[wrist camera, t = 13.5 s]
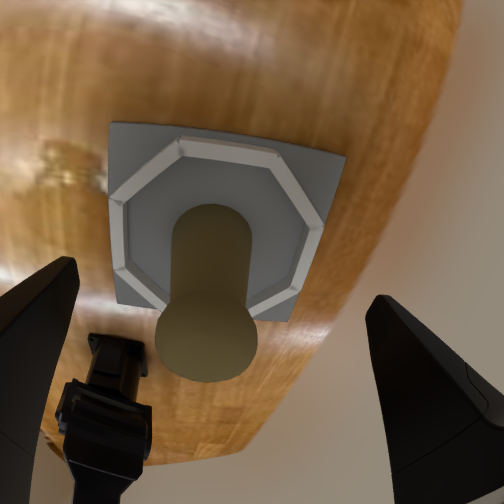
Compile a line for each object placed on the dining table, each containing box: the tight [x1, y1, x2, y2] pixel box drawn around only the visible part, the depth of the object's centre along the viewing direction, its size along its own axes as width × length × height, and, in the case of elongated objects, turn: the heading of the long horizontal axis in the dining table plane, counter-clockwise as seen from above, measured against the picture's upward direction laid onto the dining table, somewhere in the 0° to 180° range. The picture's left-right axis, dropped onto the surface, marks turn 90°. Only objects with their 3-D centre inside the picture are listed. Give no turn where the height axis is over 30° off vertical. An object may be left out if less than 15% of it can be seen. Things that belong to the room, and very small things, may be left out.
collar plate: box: [108, 121, 346, 322], centre depth 22 cm, size 16×16×2 cm
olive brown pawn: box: [155, 204, 257, 382], centre depth 18 cm, size 6×6×11 cm
